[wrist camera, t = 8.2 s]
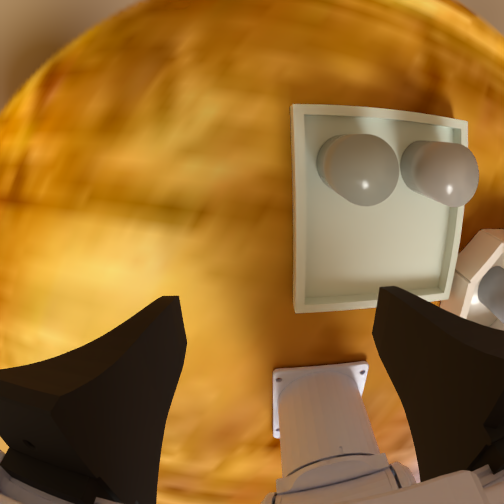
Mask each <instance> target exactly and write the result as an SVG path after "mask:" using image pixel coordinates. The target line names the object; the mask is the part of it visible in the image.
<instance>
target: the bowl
mask: <svg viewBox="0 0 504 504" xmlns="http://www.w3.org/2000/svg"><path fill="white" fill-rule="evenodd" d="M494 266H501V267H502V268H504V229H481V231H480V230H479V231H478V233H477V234H476V235H475V236H474V237H473V239H472V240H471V241H470V242H469V243H468V244H467V246H466V247H465V248H464V249H463V250H462V251H461V252H460V253H459V255H458V256H457V262H456V267H455V272H454V277H453V282H452V286H451V291H450V295H449V299H447V300H441V304H440V308H442V309H444V310H446V311H449V312H451V313H453V314H455V315H457V316H460V317H462V318H465V319H467V320H470V321H473V322H476V323H478V324H481V325H484V326H488V327H491V328H495V329H499V330H503V331H504V324H503V323H502V322H501V321H500V320H499V319H498V318H497V317H496V316H495V315H494V314H493V313H492V312H491V311H490V310H489V309H487V308H486V307H485V306H484V305H483V304H482V303H481V302H480V301H479V299H478V287H479V284H480V281H481V279H482V278H483V276H484V275H485V274H486V273H487V271H488V270H489V269H491V268H492V267H494Z"/></svg>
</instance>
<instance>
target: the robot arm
mask: <svg viewBox="0 0 504 504" xmlns="http://www.w3.org/2000/svg"><path fill="white" fill-rule="evenodd" d="M372 335H373V338H374V341H375V345H376V348H377V351H378V353H379V356H380V358H381V360H382V362H383V364H384V366H385V368H386V371H387V373H388V375H389V377H390V379H391V381H392V383H393V385H394V387H395V389H396V391H397V393H398V395H399V397H400V400H401V402H402V404H403V407H404V410H405V413H406V416H407V420H408V423H409V426H410V430H411V434H412V438H413V442H414V446H415V450H416V456H417V461H418V467H419V473H420V481H421V483H416V481H415V478H414V476H413V474H412V472H411V471H410V469H409V468H408V467H407V466H404V465H402V464H401V463H399V462H394V463H392V464H388V461H387V458H386V455H385V453H381V454H380V451H379V448H378V445H377V442H376V439H375V436H374V433H373V430H372V427H371V424H370V421H369V418H368V415H367V412H366V409H365V406H364V403H363V401H362V398H361V397H362V393H363V389H364V385H365V381H366V377H367V373H368V368H369V365H368V363H367V362H366V361H360V362H351V363H342V364H333V365H322V366H310V367H296V368H279V369H275V370H274V371H273V437H275V438H280V445H281V460H282V476H283V478H280V479H277V480H276V489H277V492H271V493H268V494H267V495H266V496H265V498H264V500H263V501H262V502H261V504H504V331H503V330H499V329H495V328H491V327H488V326H484V325H481V324H478V323H476V322H473V321H470V320H467V319H465V318H462V317H460V316H457V315H455V314H453V313H451V312H449V311H446V310H444V309H442V308H440V307H438V306H436V305H434V304H432V303H430V302H428V301H426V300H424V299H422V298H420V297H418V296H416V295H414V294H412V293H410V292H408V291H406V290H404V289H402V288H399V287H397V286H385V287H379V294H378V301H377V307H376V314H375V320H374V325H373V331H372ZM186 347H187V339H186V334H185V329H184V323H183V318H182V312H181V306H180V300H179V296H162V297H160V298H158V299H157V300H155V301H154V302H152V303H151V304H149V305H148V306H147V307H145V308H144V309H142V310H141V311H140V312H138V313H137V314H135V315H134V316H133V317H131V318H130V319H128V320H127V321H125V322H124V323H122V324H121V325H119V326H118V327H116V328H114V329H113V330H111V331H110V332H108V333H107V334H105V335H103V336H101V337H100V338H98V339H96V340H94V341H92V342H90V343H88V344H86V345H84V346H82V347H79V348H77V349H75V350H72V351H70V352H67V353H65V354H62V355H60V356H57V357H54V358H51V359H48V360H44V361H41V362H37V363H33V364H29V365H24V366H19V367H13V368H7V369H0V436H1V438H2V439H3V440H4V441H5V443H6V444H7V445H8V446H9V449H8V451H7V453H6V454H5V453H4V452H2V451H1V450H0V504H156V497H157V482H158V472H159V462H160V455H161V448H162V441H163V435H164V429H165V424H166V419H167V415H168V412H169V408H170V405H171V402H172V399H173V396H174V393H175V390H176V387H177V384H178V381H179V377H180V374H181V371H182V368H183V364H184V359H185V353H186ZM362 370H363V371H362ZM360 371H362V372H360ZM277 378H281V379H277Z"/></svg>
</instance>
